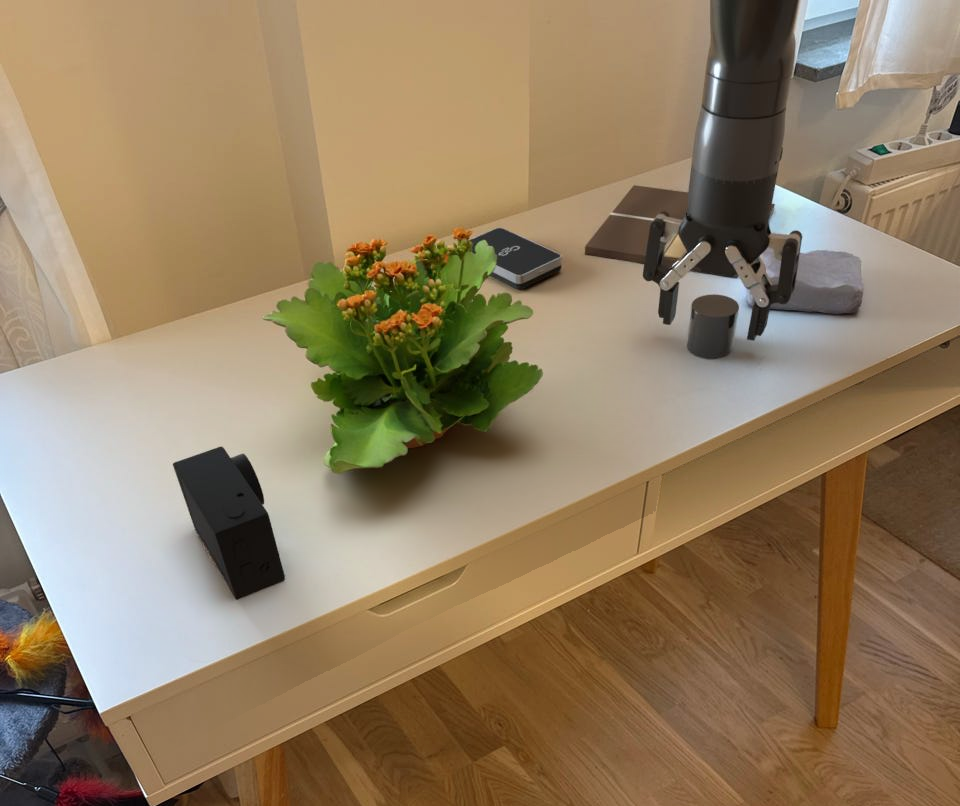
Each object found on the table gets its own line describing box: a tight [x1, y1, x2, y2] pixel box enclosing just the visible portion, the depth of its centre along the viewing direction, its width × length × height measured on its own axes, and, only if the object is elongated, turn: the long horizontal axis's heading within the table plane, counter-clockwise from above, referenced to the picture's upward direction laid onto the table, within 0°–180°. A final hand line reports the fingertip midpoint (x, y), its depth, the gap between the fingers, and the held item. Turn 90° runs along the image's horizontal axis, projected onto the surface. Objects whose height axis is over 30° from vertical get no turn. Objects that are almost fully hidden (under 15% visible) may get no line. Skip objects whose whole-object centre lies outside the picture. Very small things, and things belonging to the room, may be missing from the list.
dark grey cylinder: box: [686, 294, 740, 360], centre depth 96 cm, size 5×5×4 cm
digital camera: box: [172, 446, 286, 600], centre depth 77 cm, size 10×5×7 cm, turn 30°
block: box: [746, 247, 864, 315], centre depth 104 cm, size 12×5×10 cm
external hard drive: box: [468, 227, 563, 291], centre depth 111 cm, size 7×11×2 cm, turn 41°
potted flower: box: [262, 227, 544, 475], centre depth 86 cm, size 25×24×18 cm
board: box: [584, 184, 776, 279], centre depth 115 cm, size 18×18×1 cm
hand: (710, 328), depth 97 cm, fingers open, 8 cm apart
